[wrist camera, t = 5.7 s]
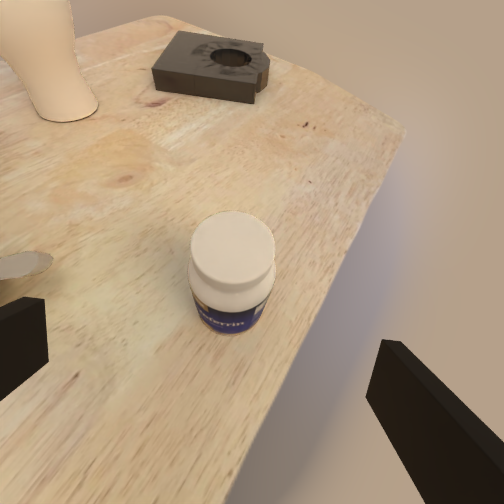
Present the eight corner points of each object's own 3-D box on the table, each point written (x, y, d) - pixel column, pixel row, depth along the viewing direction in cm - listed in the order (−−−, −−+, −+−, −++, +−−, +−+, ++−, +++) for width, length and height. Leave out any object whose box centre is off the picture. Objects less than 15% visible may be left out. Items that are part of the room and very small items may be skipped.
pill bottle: (185, 319, 20) (155, 262, 12) (217, 266, 23) (212, 190, 15) (246, 350, 20) (261, 311, 11) (272, 290, 23) (299, 224, 14)
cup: (116, 120, 34) (51, -49, 21) (28, 135, 31) (-113, -53, 18) (101, 84, 38) (39, -73, 26) (22, 94, 35) (-93, -80, 22)
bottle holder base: (269, 63, 48) (272, 44, 45) (264, 105, 40) (266, 85, 37) (180, 50, 48) (178, 30, 45) (156, 90, 39) (151, 68, 36)
